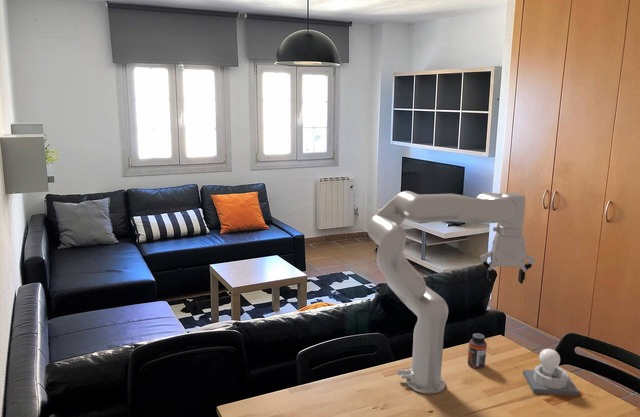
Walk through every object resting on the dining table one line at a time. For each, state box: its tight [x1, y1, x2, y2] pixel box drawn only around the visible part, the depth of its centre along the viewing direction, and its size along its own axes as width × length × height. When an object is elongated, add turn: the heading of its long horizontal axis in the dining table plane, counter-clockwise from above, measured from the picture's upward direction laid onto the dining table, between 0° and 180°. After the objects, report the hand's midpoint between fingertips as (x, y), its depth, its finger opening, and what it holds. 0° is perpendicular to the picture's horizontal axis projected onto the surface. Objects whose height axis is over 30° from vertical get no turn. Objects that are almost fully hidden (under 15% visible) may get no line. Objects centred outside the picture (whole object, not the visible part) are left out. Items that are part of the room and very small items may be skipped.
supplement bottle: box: [467, 332, 488, 369], centre depth 184 cm, size 6×6×11 cm
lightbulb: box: [538, 348, 561, 378], centre depth 172 cm, size 6×6×11 cm
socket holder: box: [522, 364, 580, 397], centre depth 173 cm, size 14×12×4 cm
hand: (505, 281), depth 173 cm, fingers open, 9 cm apart
